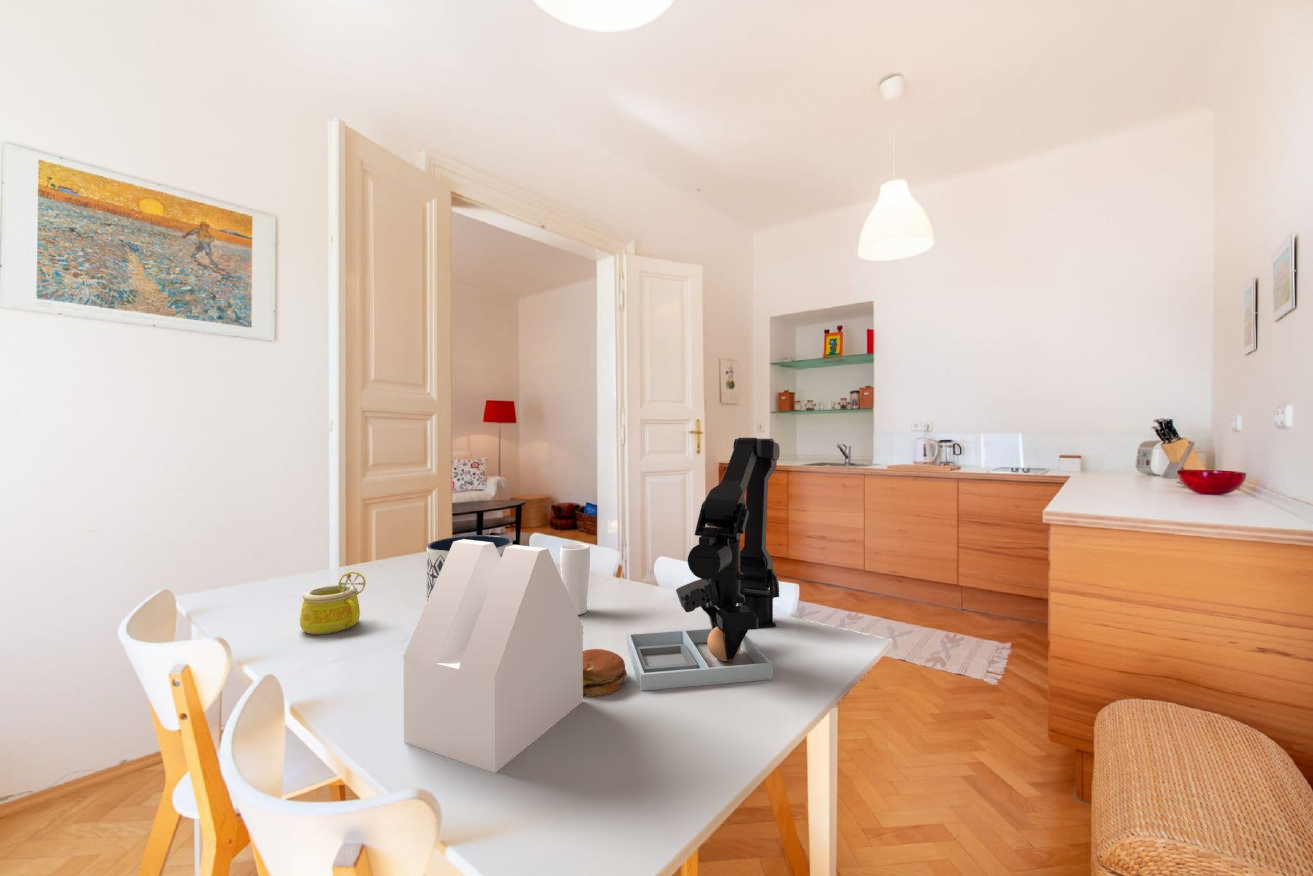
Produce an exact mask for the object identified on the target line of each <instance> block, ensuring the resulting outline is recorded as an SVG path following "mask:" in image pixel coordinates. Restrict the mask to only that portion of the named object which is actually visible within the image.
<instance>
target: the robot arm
mask: <svg viewBox="0 0 1313 876" xmlns="http://www.w3.org/2000/svg"><path fill="white" fill-rule="evenodd" d="M732 447H733V451H732V453H731V456H730V459H729V461H728V463H727V466H726V468H725V471H724V474H723V476H722V478H721V481H720V483H719V484H717V485H716V486H714V487H713V488H712V489H710V490H709V492H708V493H707V496H706V498H705V499H704V501H703V502H702V504H701V506H700V507H701V508H700V511H699V516H698V519H697V523H696V527H695V531H694V536H698V544H696V545H695V546H693V547H692V548H691V549H690V551H689V553H688V556H687V565H688V568H689V570H690V572H691V573H692V574H693V576H696V577H697V578H698V580H694V581H691V582H688V583H687V584H683V585H681V586H680V587H678V588H677V589H675V592H676V594H677V597H678V600H679V603H680V605H681V608H682V609H683V610H684V611H685V612H686V613H691V612H694V611H695V609H698V608H701V609H702V610H703V612H705V613H706V614H707V616H708V618H709V622H710V626H711V628H712V630H713V629H714V628H715V627H718V628H719V629H720V630H721V631H722V634H723V641H724V647H725V653H726V659H727V660H728V661H733V660H734V659H735V658H736V657H735V655H736V653H737V651H738V648H739V646H740V644H741V642H742V640H743V639H744V637H745V635H746V636H747V633H748V632H749V631H750V630H751V631H752V630H757V629H759V628H766V627H768V628H769V627H776V626H777V623H776V622H775V621H774V618H773V617H774V609H773V608H774V603H773V601H774V598H779V597H780V582H779V581H778V580H779V579H778V577H777V574H776V571H775V569H774V561H773V559H772V557H771V555H770V553H769V551H768V549H767V528H768V527H767V524H768V500H769V499H768V498H769V497H768V495H769V479H770V478H771V477H772V475H773V474H774V473H775V471H776V469H777V462H778V460H780V454H781V452H780V451H781V450H780V445H779V443H778V442H775V440H774V438H757V437H738V438H735V439H734V441H733V446H732ZM706 525H707V526H706ZM742 534H743V535H744V537H743V539H744V541H743V547H742V549H741V539H740V538H741V537H742ZM734 657H735V658H734Z"/></svg>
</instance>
